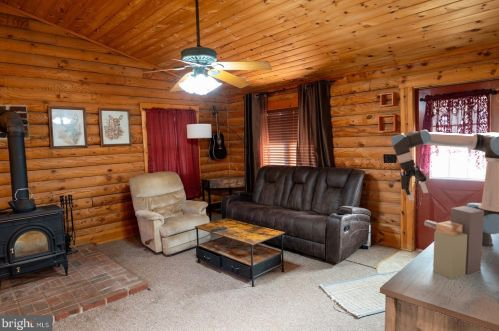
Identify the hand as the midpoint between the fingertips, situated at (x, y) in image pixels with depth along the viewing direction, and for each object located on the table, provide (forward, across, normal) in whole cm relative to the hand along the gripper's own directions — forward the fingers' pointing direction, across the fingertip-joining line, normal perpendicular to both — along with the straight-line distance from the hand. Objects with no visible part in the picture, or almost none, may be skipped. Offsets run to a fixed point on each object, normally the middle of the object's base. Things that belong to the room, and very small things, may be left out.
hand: (419, 196), depth 180 cm
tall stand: (+36, +12, +19) cm, 42 cm away
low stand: (+33, +22, +18) cm, 44 cm away
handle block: (+13, +18, +18) cm, 29 cm away
